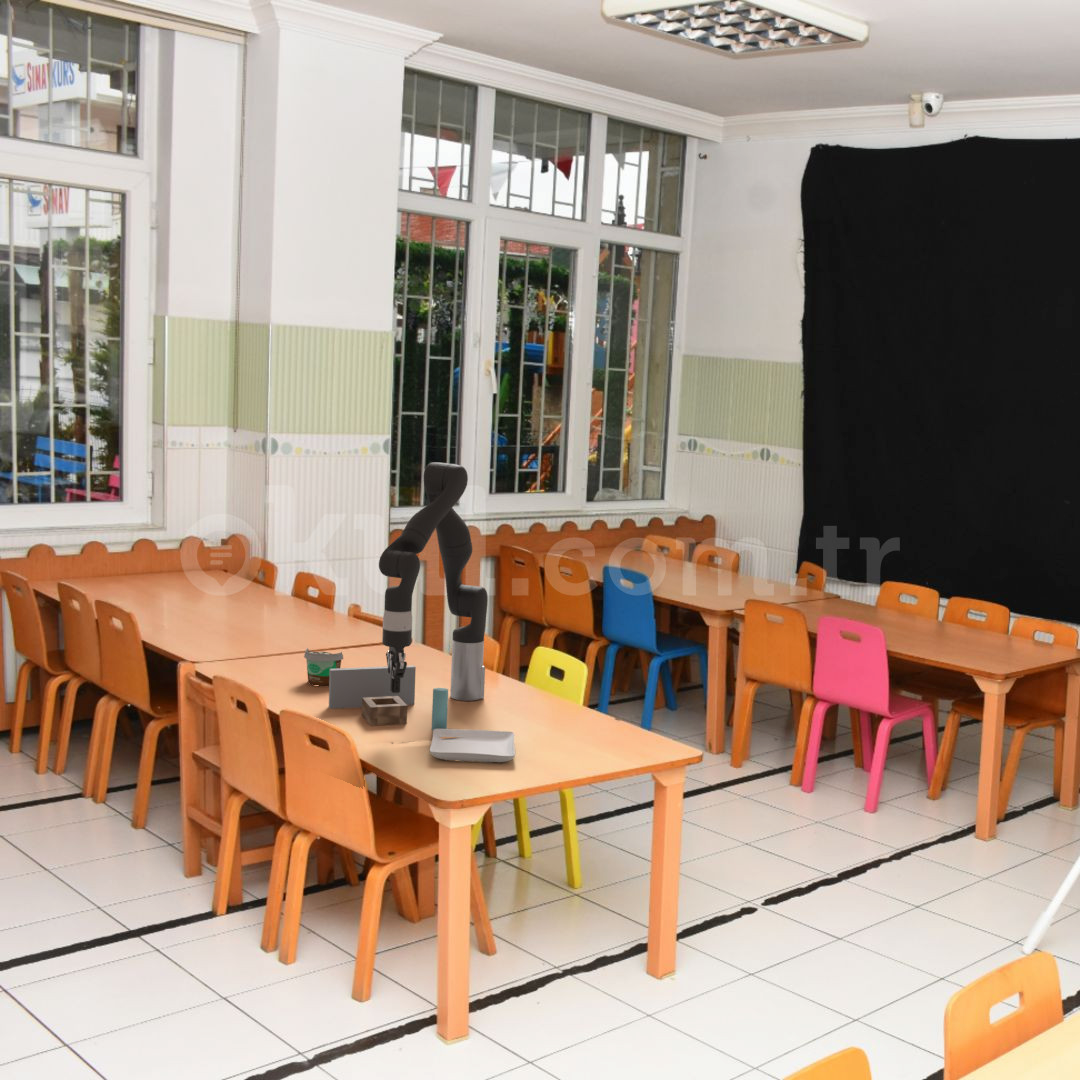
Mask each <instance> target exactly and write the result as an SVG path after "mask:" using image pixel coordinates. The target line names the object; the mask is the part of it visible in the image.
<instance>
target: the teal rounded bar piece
mask: <svg viewBox="0 0 1080 1080" xmlns="http://www.w3.org/2000/svg"><path fill="white" fill-rule="evenodd" d="M448 704H449V689H448V688H445V687H436V688H433V689H432V704H431V705H432V710H431V712H432V713H431V731H432V732H433V730H434V729H448V711H449V710H448V707H449V705H448Z"/></svg>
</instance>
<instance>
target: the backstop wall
mask: <svg viewBox="0 0 1080 1080" xmlns="http://www.w3.org/2000/svg"><path fill="white" fill-rule="evenodd" d="M416 669H417V668H416V666H415V665H414V664H413V665H411V664H410V665H407V666H406V670H405V673H404V676H403V678H401V679H400V692H399V693H392V692H391V690H390V688H391V677H390V673H388V666H387V665H386V666H365V667H345V668H342V667H340V668H337V669H330V673H329V686H328V708H329V709H331V710H332V709H333V710H334V709H335V710H336V709H351V708H353V709H354V708H362V698H364V697H385V696H399V697H400V698H401V699H402V700H403V701H404V703H405V704H406V705H407V706H409V705H415V699H416V698H415V697H416Z"/></svg>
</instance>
